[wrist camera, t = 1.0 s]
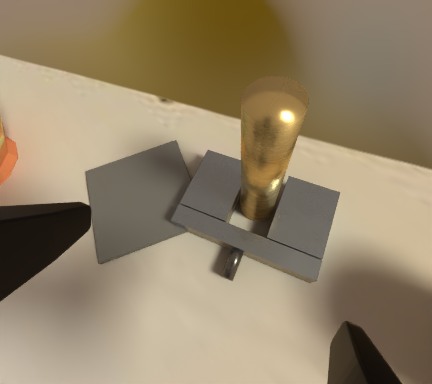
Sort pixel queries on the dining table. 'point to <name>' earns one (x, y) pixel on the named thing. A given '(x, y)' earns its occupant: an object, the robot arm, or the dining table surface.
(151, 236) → the rubber mat
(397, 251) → the dining table surface
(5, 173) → the potted cactus
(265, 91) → the brass rod
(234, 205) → the vise
